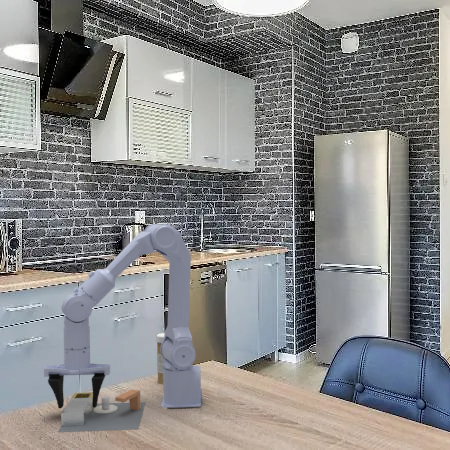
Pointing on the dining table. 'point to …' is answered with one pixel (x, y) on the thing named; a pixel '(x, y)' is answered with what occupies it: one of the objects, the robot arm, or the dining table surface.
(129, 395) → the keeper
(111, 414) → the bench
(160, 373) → the sprinkles bottle
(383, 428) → the dining table surface
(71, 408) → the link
